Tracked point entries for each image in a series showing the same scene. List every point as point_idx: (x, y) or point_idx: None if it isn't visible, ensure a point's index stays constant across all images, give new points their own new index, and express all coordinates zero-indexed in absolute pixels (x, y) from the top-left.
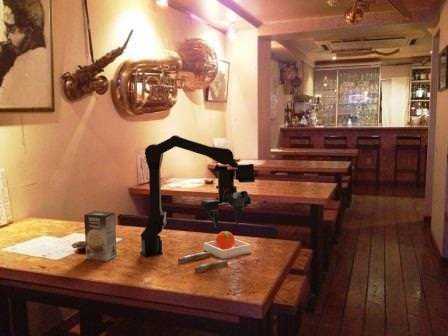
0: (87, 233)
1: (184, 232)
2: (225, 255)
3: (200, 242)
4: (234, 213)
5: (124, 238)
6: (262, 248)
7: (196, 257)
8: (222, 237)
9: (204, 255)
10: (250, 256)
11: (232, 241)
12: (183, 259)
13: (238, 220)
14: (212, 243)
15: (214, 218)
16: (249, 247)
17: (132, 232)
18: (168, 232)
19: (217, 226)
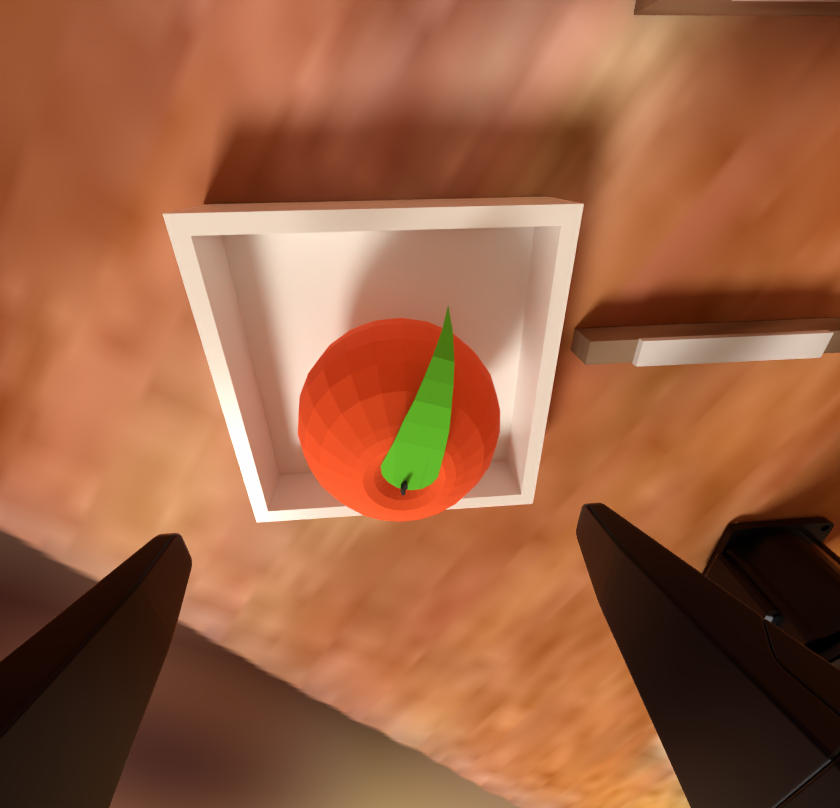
0: None
1: (397, 725)
2: (521, 200)
3: (424, 593)
4: (110, 793)
5: (651, 733)
6: (16, 249)
7: (709, 328)
8: (478, 403)
9: (634, 334)
10: (258, 81)
11: (366, 334)
12: (828, 327)
13: (126, 580)
14: None
15: (800, 652)
16: (190, 210)
17: (574, 770)
18: (460, 741)
19: (599, 515)
